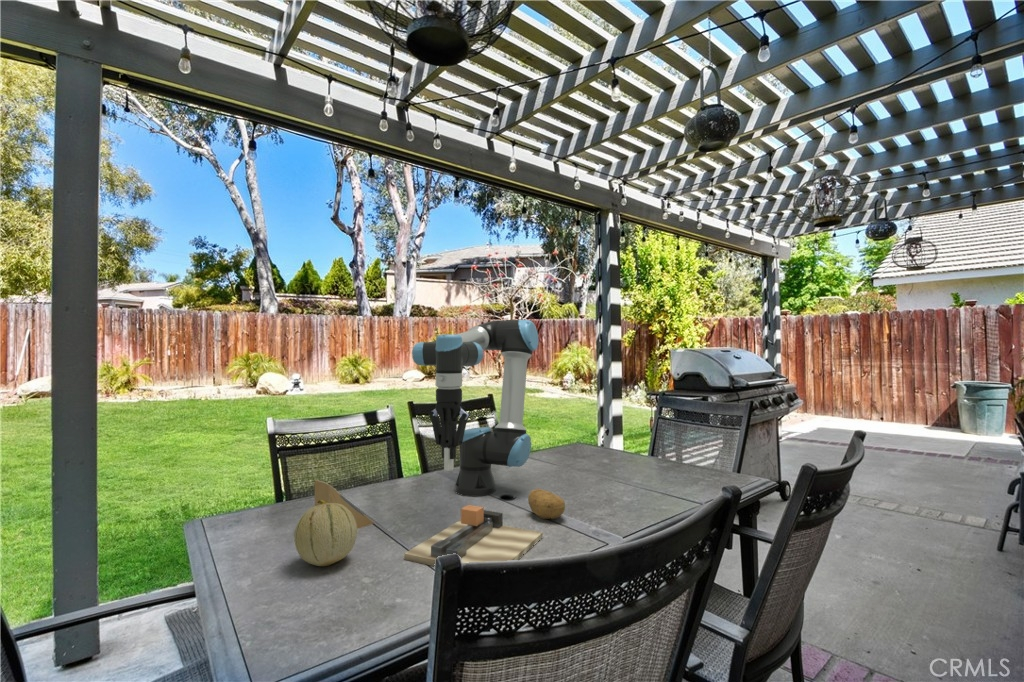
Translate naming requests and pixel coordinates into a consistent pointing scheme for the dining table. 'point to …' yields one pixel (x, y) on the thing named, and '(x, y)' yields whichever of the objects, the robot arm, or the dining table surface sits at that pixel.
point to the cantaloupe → (325, 533)
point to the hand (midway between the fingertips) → (448, 469)
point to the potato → (546, 504)
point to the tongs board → (490, 548)
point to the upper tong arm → (471, 538)
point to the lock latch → (472, 515)
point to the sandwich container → (339, 502)
